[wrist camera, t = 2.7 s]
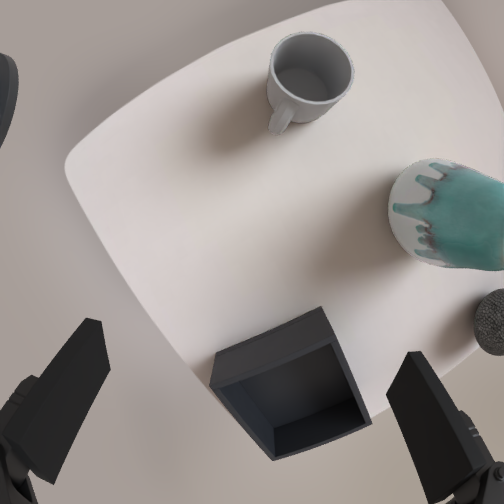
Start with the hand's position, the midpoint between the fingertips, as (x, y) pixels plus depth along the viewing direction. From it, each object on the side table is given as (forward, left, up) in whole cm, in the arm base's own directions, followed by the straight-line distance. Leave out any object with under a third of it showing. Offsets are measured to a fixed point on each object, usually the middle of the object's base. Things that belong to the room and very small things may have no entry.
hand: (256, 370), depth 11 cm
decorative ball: (+25, +28, -23) cm, 44 cm away
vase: (+4, +20, -23) cm, 31 cm away
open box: (+18, -4, -23) cm, 29 cm away
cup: (-13, +11, -23) cm, 28 cm away
